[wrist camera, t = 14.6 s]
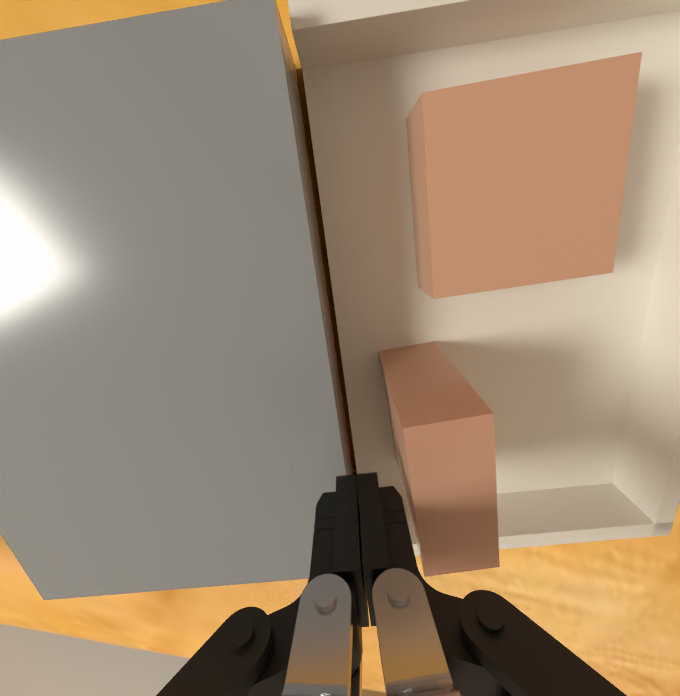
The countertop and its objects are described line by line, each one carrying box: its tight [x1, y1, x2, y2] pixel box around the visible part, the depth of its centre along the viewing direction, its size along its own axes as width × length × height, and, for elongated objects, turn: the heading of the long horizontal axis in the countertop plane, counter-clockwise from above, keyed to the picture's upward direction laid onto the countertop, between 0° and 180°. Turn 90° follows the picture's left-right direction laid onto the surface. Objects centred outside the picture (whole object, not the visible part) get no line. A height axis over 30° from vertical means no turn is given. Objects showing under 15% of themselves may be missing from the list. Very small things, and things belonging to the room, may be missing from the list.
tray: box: [288, 0, 680, 556], centre depth 13 cm, size 21×14×3 cm, turn 7°
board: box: [0, 0, 353, 600], centre depth 14 cm, size 20×15×4 cm
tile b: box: [379, 341, 499, 577], centre depth 13 cm, size 6×6×2 cm
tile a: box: [406, 52, 642, 299], centre depth 11 cm, size 6×6×2 cm
